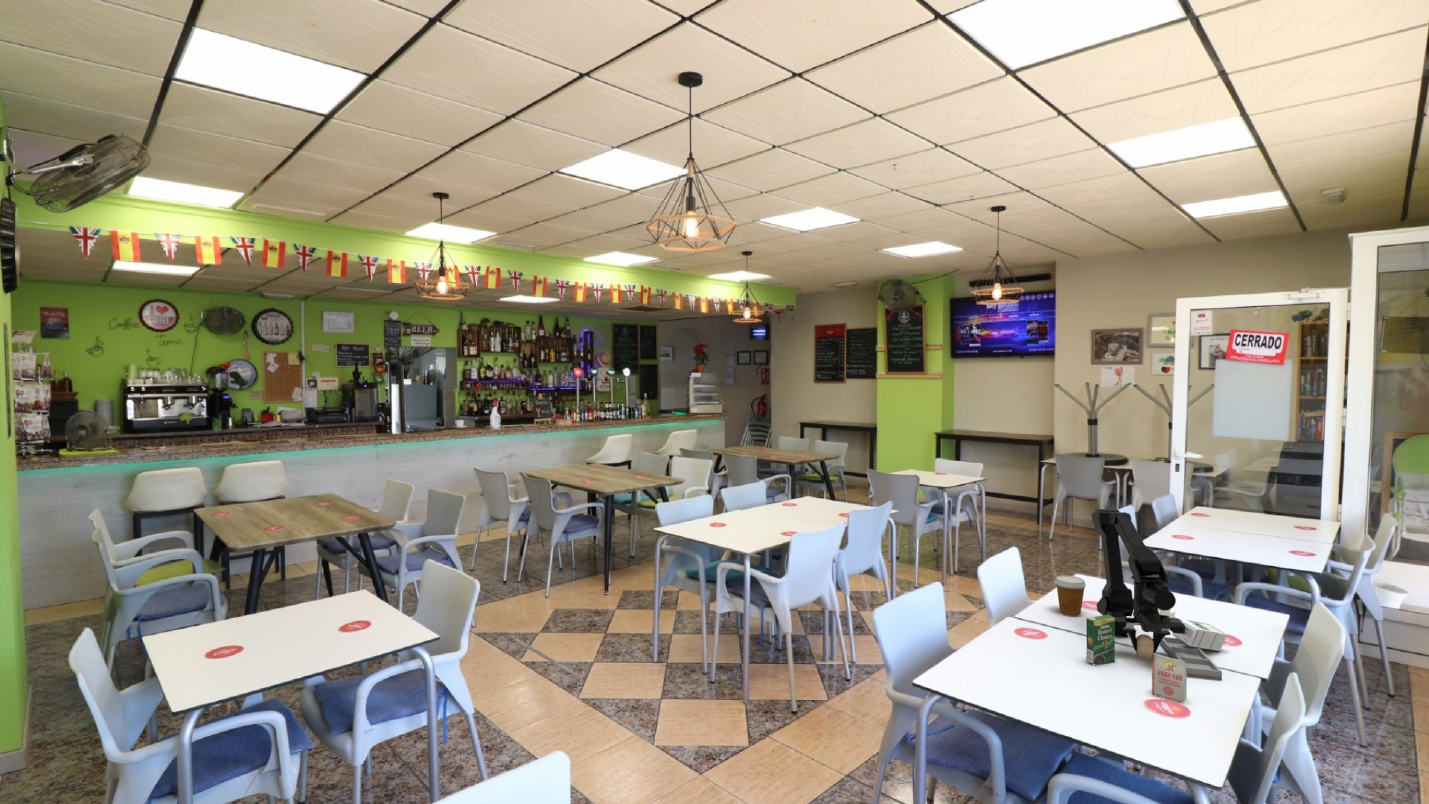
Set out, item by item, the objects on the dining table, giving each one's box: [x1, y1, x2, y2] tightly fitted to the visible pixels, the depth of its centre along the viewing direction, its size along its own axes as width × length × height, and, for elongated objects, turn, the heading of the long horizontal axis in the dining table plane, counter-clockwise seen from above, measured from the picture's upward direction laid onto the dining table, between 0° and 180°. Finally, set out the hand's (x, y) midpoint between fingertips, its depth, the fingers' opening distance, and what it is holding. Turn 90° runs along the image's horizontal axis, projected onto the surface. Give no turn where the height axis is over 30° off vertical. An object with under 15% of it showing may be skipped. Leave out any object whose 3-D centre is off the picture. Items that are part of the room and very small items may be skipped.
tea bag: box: [1151, 653, 1188, 703], centre depth 172 cm, size 4×7×10 cm, turn 45°
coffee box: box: [1085, 614, 1116, 665], centre depth 193 cm, size 8×3×13 cm, turn 107°
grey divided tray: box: [1159, 636, 1223, 681], centre depth 193 cm, size 8×23×2 cm, turn 161°
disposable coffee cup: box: [1054, 575, 1087, 617], centre depth 233 cm, size 10×10×12 cm
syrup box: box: [1171, 618, 1228, 652], centre depth 200 cm, size 6×6×14 cm
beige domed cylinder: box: [1135, 633, 1155, 661], centre depth 197 cm, size 4×4×7 cm
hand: (1144, 651), depth 197 cm, fingers closed on beige domed cylinder, 4 cm apart
